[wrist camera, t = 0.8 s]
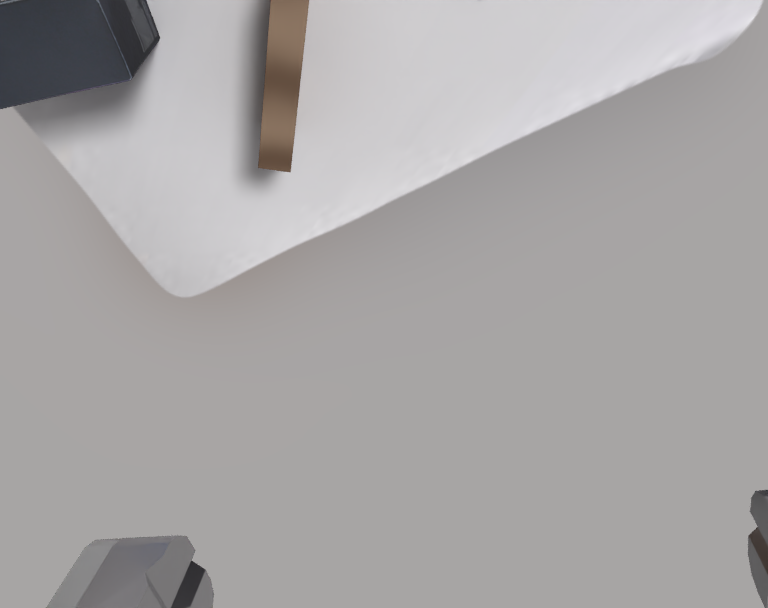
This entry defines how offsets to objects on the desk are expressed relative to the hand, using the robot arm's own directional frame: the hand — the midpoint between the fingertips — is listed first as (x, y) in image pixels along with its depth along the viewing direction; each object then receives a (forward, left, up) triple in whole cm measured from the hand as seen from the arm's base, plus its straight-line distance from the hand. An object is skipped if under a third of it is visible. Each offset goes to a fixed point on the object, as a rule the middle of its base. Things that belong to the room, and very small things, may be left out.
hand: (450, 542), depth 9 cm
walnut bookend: (+6, -3, -48) cm, 49 cm away
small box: (+6, -19, -49) cm, 53 cm away
